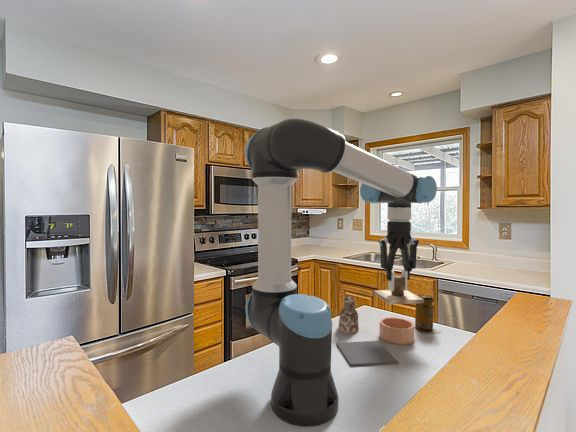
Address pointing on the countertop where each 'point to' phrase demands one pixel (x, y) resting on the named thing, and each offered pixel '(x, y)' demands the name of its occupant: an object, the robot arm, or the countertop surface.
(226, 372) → the countertop surface
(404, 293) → the lid
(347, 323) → the figurine
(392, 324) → the bowl
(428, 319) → the condiment
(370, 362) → the mat
